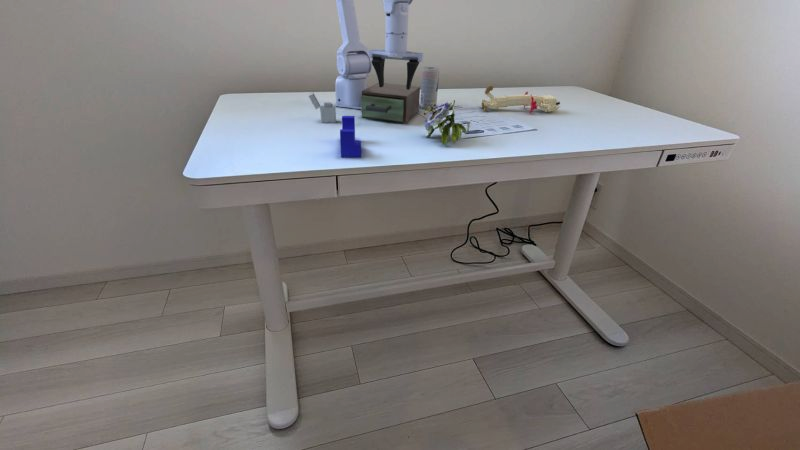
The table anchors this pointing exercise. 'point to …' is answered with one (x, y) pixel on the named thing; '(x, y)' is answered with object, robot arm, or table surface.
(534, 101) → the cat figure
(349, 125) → the blue stepped block
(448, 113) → the passion flower
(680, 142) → the table surface
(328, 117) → the lighter
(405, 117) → the cabinet
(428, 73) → the energy drink
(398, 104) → the drawer
